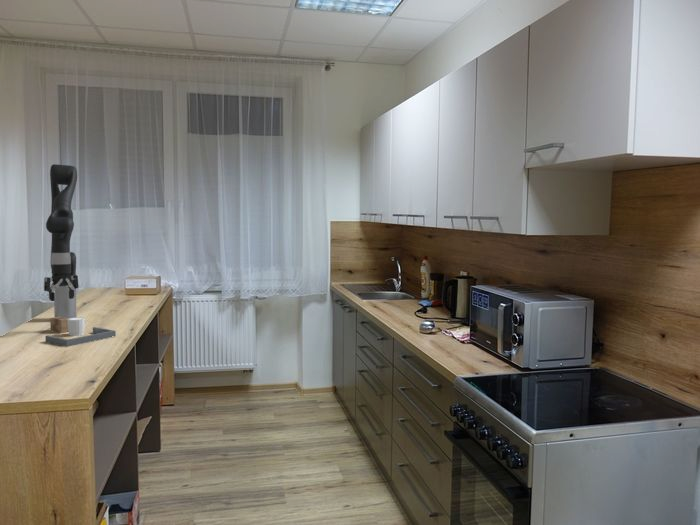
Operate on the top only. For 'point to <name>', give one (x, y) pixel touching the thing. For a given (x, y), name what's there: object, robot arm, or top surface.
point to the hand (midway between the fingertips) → (61, 299)
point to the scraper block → (59, 324)
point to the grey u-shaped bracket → (74, 341)
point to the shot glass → (76, 326)
